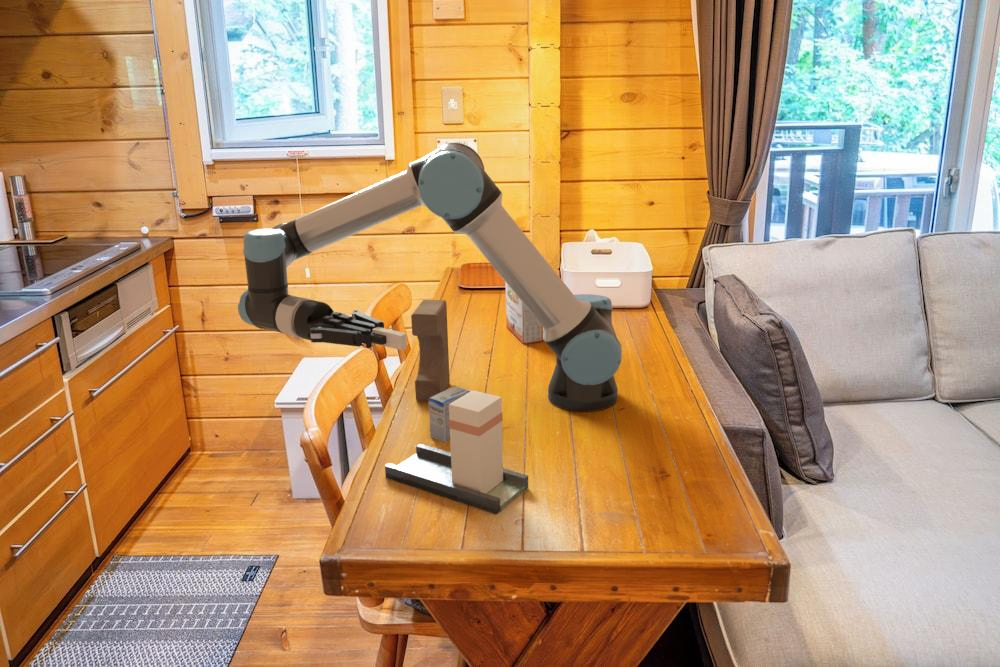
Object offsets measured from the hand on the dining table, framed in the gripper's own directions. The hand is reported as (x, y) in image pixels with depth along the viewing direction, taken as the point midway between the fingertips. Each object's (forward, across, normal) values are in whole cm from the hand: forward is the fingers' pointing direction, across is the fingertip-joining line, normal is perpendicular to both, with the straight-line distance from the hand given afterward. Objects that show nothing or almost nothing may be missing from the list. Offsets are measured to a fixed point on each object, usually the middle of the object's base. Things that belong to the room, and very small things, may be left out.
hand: (403, 341), depth 150 cm
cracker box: (-19, -73, -26) cm, 80 cm away
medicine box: (-2, -15, -25) cm, 30 cm away
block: (+16, +1, -24) cm, 28 cm away
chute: (+11, +1, -25) cm, 27 cm away
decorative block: (-17, -30, -26) cm, 43 cm away
